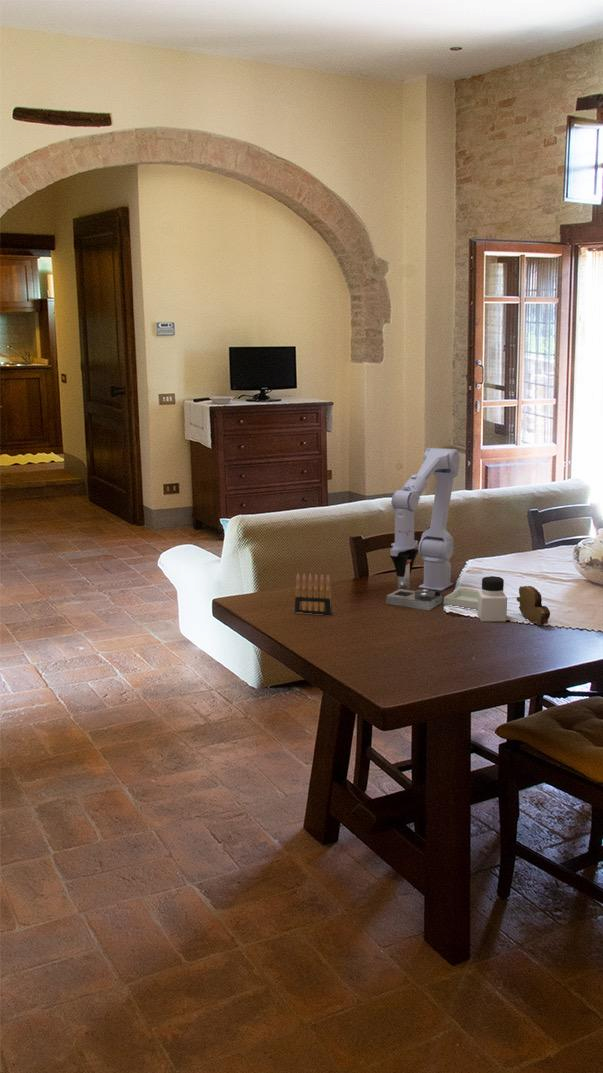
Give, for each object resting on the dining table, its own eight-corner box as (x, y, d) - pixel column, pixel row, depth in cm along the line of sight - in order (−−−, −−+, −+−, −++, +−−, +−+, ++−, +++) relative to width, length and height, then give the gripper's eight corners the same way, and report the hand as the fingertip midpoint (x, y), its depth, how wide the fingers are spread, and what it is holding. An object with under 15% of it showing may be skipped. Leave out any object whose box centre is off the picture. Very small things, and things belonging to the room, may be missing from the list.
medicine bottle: (506, 621, 277) (507, 580, 274) (480, 621, 277) (482, 580, 275) (501, 614, 284) (503, 574, 281) (477, 614, 284) (478, 574, 282)
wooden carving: (555, 628, 270) (557, 593, 268) (541, 630, 269) (542, 595, 267) (524, 612, 286) (526, 579, 284) (510, 614, 284) (511, 580, 282)
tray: (458, 596, 303) (458, 588, 302) (492, 601, 297) (492, 593, 296) (443, 605, 294) (443, 597, 293) (478, 610, 288) (478, 602, 287)
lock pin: (400, 585, 300) (400, 556, 298) (413, 586, 297) (413, 558, 296) (394, 588, 296) (394, 559, 294) (406, 589, 294) (407, 561, 292)
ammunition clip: (332, 614, 286) (331, 573, 283) (330, 615, 284) (330, 575, 282) (296, 612, 288) (295, 572, 286) (294, 613, 286) (294, 573, 284)
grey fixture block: (399, 596, 303) (399, 581, 302) (441, 603, 296) (442, 587, 295) (386, 603, 296) (386, 588, 295) (429, 610, 289) (429, 594, 288)
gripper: (403, 524, 301) (402, 567, 304) (381, 533, 289) (380, 578, 292) (424, 527, 297) (423, 570, 300) (402, 535, 285) (402, 581, 288)
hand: (404, 574), depth 296 cm, fingers closed on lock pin, 4 cm apart
